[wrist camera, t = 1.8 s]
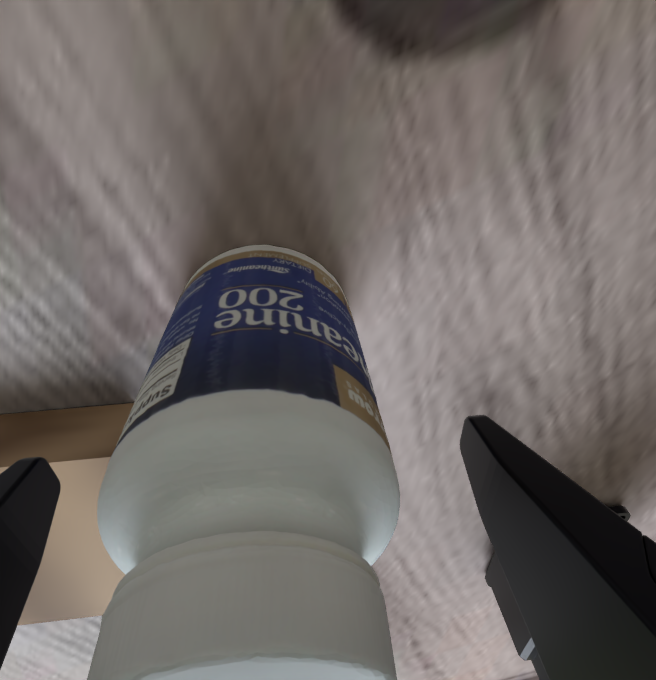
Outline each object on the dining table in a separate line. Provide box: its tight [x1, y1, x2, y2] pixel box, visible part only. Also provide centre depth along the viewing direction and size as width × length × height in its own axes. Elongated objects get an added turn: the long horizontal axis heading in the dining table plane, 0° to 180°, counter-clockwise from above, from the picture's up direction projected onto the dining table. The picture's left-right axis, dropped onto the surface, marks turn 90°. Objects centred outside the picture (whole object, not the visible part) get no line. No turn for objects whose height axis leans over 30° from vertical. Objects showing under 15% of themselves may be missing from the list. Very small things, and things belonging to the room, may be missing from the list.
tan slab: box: [0, 403, 134, 625], centre depth 16 cm, size 10×10×2 cm
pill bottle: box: [87, 245, 400, 680], centre depth 9 cm, size 5×5×10 cm
